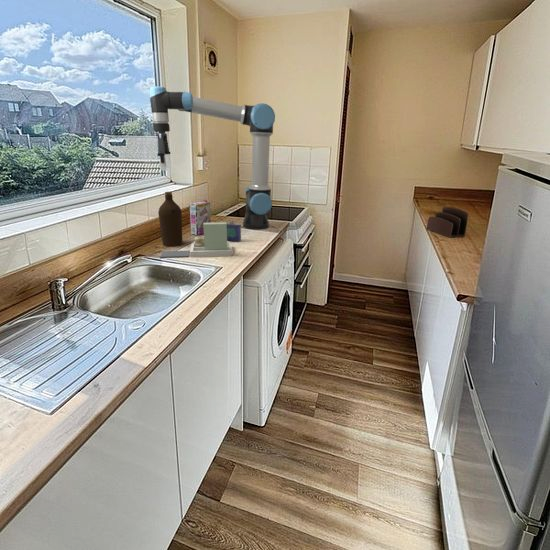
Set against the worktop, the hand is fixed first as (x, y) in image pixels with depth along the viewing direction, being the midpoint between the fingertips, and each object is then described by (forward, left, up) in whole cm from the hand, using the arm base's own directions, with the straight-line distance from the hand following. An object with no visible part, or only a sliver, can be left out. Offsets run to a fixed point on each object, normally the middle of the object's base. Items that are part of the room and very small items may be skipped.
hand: (165, 169), depth 185 cm
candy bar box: (-16, -3, -34) cm, 37 cm away
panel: (-24, +35, -34) cm, 54 cm away
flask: (-32, +14, -34) cm, 49 cm away
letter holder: (-152, +7, -34) cm, 156 cm away
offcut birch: (-17, +29, -31) cm, 45 cm away
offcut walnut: (-17, +29, -34) cm, 48 cm away
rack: (-22, +32, -34) cm, 52 cm away
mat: (-6, +35, -34) cm, 49 cm away
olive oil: (-3, +17, -34) cm, 38 cm away
